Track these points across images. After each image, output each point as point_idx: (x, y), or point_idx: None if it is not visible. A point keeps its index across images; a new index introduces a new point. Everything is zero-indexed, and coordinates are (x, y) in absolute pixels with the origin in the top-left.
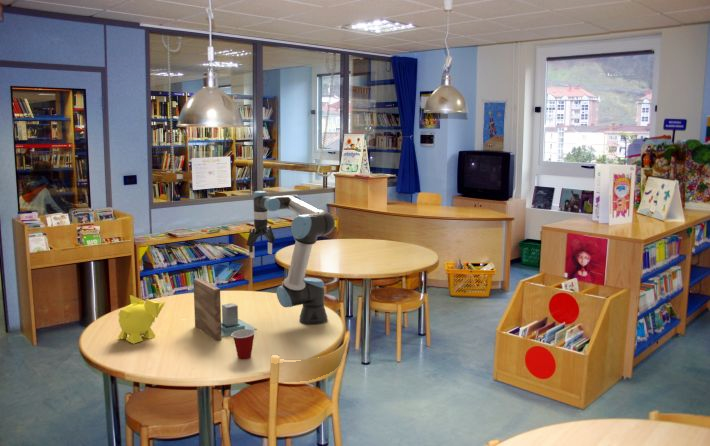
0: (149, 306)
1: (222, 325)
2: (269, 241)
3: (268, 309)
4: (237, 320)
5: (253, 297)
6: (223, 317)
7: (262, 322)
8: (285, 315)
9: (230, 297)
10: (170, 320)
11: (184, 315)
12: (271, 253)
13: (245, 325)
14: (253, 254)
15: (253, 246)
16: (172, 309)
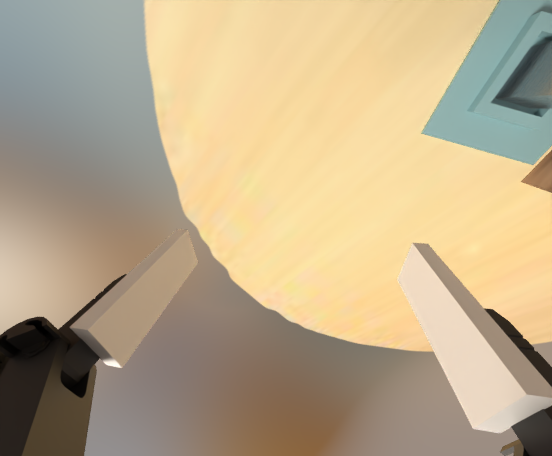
0: None
1: (536, 108)
2: (84, 373)
3: (289, 140)
4: None
5: (247, 241)
6: None
7: (417, 31)
8: (301, 31)
9: (281, 273)
10: (494, 263)
11: None
12: (180, 233)
13: (490, 47)
14: (452, 272)
15: (518, 403)
16: None
